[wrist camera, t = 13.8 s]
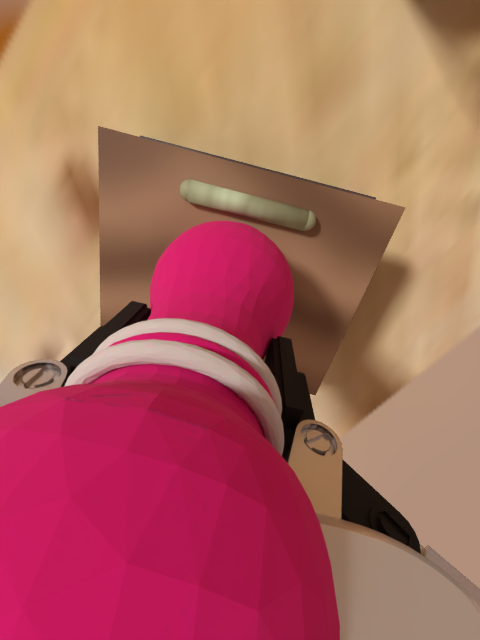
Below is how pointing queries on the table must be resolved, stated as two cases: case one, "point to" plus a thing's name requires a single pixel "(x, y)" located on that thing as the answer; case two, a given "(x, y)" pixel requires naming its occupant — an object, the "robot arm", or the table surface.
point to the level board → (245, 207)
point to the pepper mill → (167, 471)
